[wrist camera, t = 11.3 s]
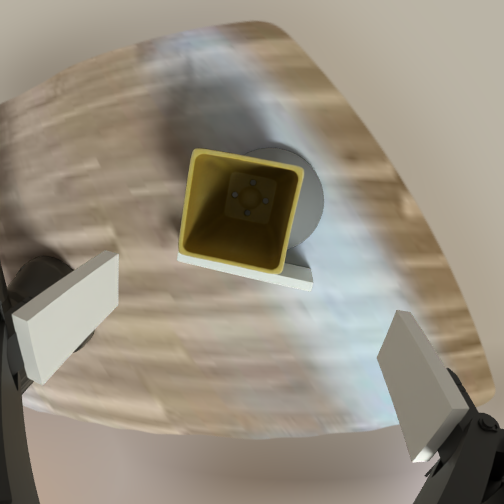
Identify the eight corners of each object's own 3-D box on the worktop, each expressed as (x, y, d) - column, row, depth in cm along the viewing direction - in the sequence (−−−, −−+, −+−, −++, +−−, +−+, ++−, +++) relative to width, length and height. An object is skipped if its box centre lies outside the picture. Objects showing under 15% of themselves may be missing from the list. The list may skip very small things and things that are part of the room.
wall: (188, 249, 36) (177, 260, 33) (189, 240, 36) (178, 251, 32) (308, 276, 36) (310, 291, 32) (310, 268, 36) (313, 282, 32)
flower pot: (216, 147, 32) (191, 146, 23) (300, 163, 31) (306, 167, 23) (203, 228, 35) (176, 254, 26) (283, 244, 34) (281, 276, 26)
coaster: (211, 237, 36) (210, 239, 35) (230, 138, 32) (228, 138, 31) (308, 259, 35) (309, 261, 35) (333, 161, 32) (334, 161, 31)
